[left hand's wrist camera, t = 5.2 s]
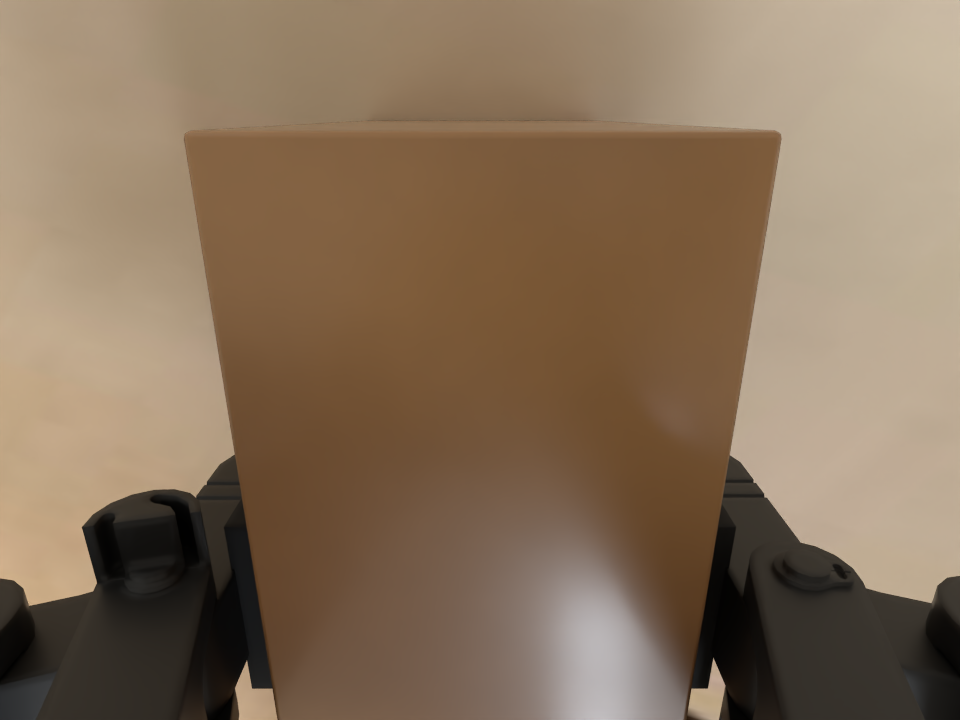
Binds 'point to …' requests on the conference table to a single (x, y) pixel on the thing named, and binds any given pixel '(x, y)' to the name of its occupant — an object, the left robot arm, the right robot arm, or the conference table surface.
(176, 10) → the conference table surface
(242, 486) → the beam
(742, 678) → the left robot arm
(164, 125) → the conference table surface
